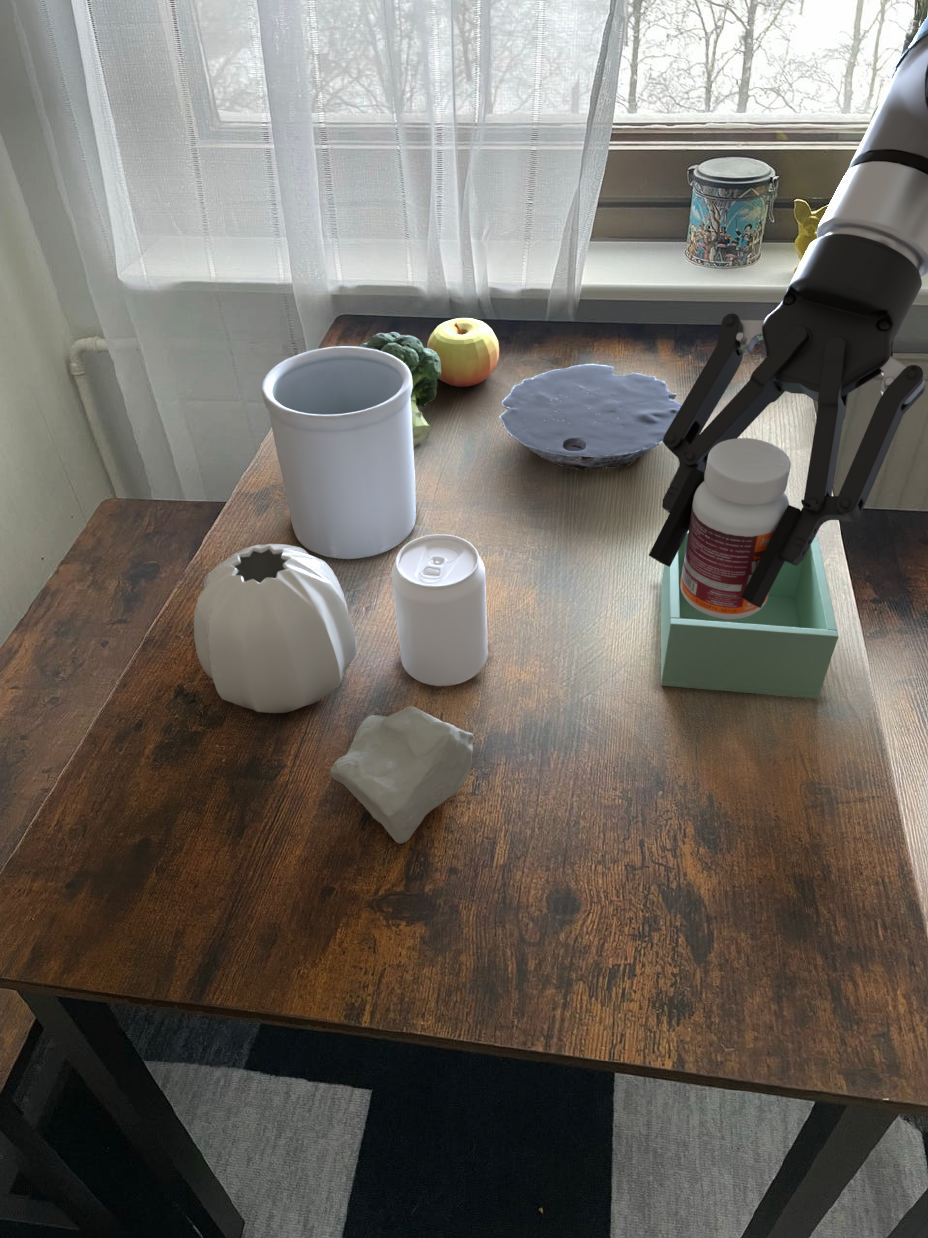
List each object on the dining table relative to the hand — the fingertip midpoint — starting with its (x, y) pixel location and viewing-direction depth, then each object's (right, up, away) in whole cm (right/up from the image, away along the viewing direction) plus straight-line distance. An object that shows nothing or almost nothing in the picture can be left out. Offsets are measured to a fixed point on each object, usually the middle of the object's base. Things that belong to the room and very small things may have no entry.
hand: (704, 580), depth 62 cm
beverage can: (-18, -6, +25) cm, 31 cm away
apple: (-16, +30, +65) cm, 73 cm away
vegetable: (-24, +22, +57) cm, 65 cm away
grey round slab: (-1, +19, +52) cm, 55 cm away
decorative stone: (-21, -16, +14) cm, 30 cm away
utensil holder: (-28, +8, +41) cm, 51 cm away
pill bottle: (+2, -1, +5) cm, 5 cm away
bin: (+9, -5, +25) cm, 27 cm away
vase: (-33, -8, +24) cm, 41 cm away
